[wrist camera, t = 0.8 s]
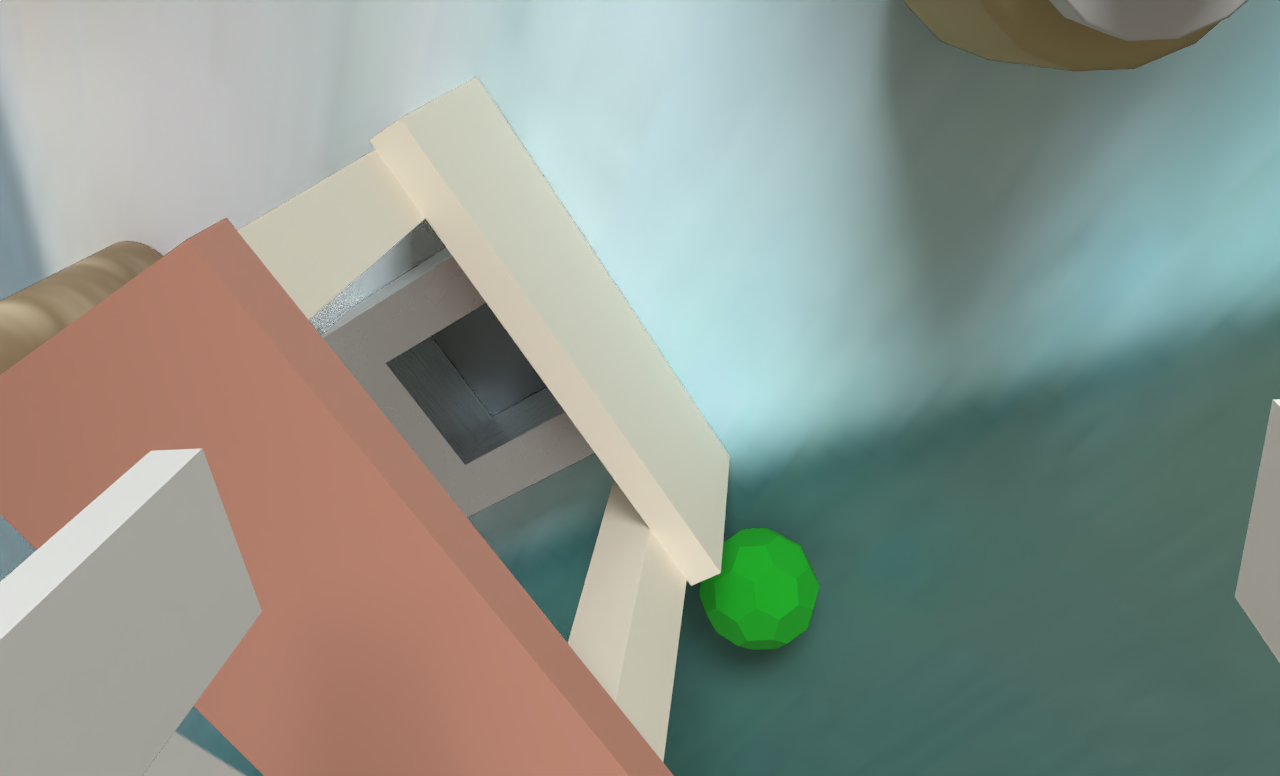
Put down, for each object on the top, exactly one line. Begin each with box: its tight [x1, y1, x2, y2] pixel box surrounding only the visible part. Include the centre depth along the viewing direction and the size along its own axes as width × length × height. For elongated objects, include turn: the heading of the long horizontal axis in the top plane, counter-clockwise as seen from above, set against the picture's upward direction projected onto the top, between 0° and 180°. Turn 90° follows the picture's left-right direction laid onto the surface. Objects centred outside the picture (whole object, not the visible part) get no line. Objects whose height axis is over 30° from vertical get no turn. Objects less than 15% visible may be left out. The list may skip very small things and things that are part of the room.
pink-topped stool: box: [0, 77, 730, 776], centre depth 31 cm, size 18×10×18 cm, turn 32°
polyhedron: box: [699, 528, 820, 650], centre depth 40 cm, size 5×5×5 cm
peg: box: [0, 241, 163, 375], centre depth 34 cm, size 4×4×14 cm
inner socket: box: [322, 248, 595, 517], centre depth 37 cm, size 9×9×4 cm
